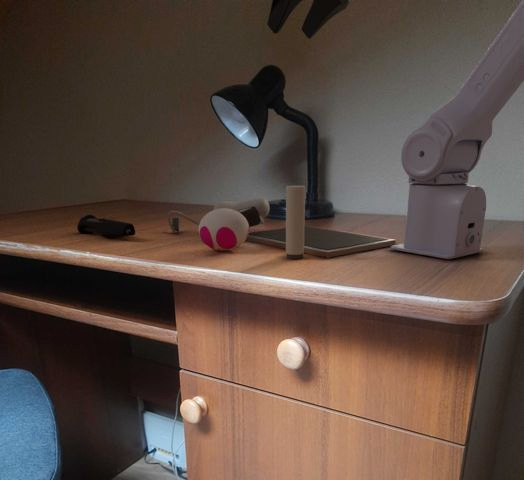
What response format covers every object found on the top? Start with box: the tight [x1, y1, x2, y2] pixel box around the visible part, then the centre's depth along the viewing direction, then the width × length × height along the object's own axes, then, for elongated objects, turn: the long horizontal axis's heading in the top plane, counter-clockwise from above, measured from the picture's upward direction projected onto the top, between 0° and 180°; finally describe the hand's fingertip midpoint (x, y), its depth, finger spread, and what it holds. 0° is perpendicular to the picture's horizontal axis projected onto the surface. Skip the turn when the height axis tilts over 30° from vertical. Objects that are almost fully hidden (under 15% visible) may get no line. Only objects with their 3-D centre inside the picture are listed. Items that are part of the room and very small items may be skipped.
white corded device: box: [167, 196, 271, 234], centre depth 84 cm, size 12×6×18 cm
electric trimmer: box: [76, 214, 136, 238], centre depth 83 cm, size 4×16×3 cm, turn 45°
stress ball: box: [197, 208, 250, 254], centre depth 70 cm, size 8×8×7 cm
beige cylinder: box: [285, 185, 306, 260], centre depth 64 cm, size 2×2×9 cm
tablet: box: [245, 225, 397, 259], centre depth 76 cm, size 20×14×1 cm
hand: (289, 31), depth 76 cm, fingers open, 7 cm apart
